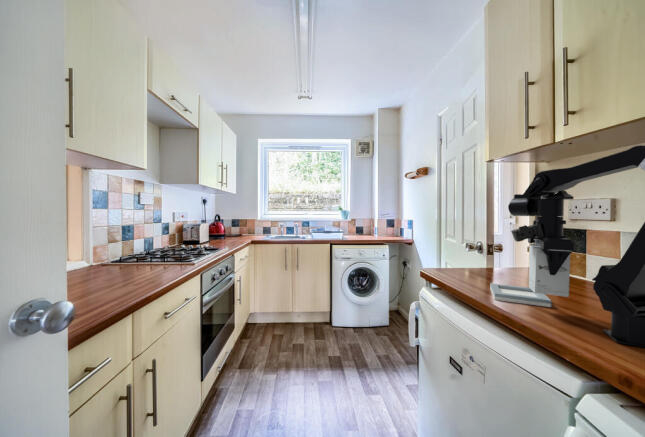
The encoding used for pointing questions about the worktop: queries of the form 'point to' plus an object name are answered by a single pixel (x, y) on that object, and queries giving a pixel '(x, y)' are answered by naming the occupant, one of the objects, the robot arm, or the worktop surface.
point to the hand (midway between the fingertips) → (548, 272)
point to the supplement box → (547, 275)
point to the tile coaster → (519, 295)
